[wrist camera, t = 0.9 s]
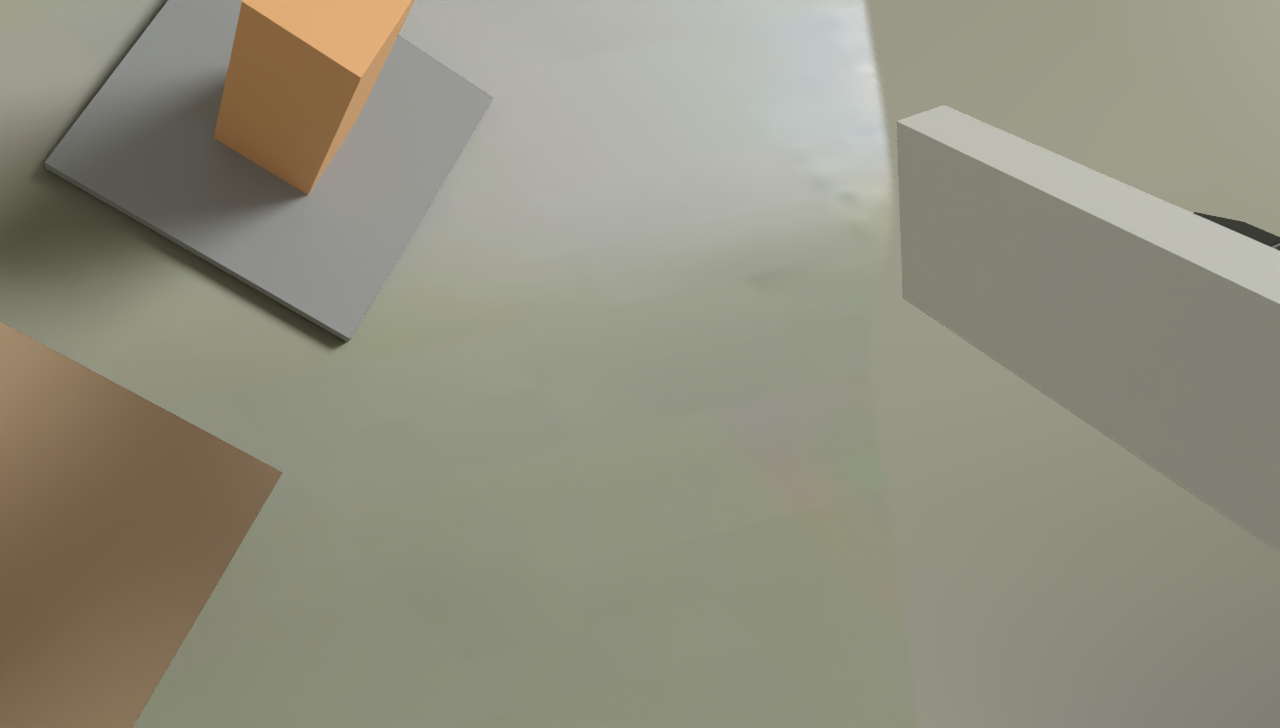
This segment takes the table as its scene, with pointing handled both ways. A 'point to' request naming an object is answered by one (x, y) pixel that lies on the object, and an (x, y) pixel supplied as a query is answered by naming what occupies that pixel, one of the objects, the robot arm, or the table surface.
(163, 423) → the brown wooden block
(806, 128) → the table surface
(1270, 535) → the robot arm
